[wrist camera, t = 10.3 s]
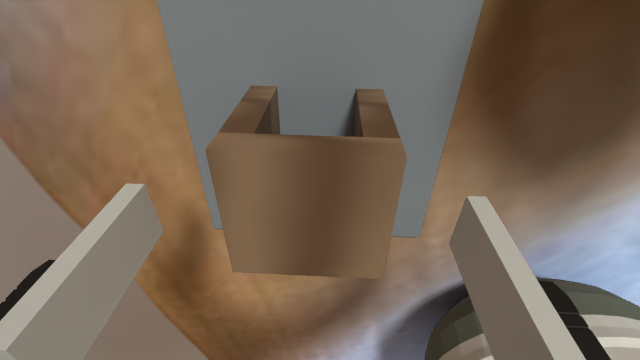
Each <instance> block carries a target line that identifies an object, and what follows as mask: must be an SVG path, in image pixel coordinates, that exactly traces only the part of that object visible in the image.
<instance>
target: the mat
mask: <svg viewBox="0 0 640 360" xmlns="http://www.w3.org/2000/svg"><path fill="white" fill-rule="evenodd" d="M157 2H158V6H159V11H160V15H161V19H162V23H163V27H164V31H165V35H166V39H167V43H168V47H169V51H170V55H171V59H172V63H173V67H174V71H175V75H176V79H177V83H178V87H179V91H180V95H181V99H182V103H183V107H184V111H185V115H186V119H187V123H188V127H189V131H190V135H191V139H192V143H193V147H194V151H195V155H196V159H197V163H198V167H199V171H200V175H201V179H202V183H203V187H204V191H205V195H206V199H207V203H208V207H209V211H210V215H211V219H212V223H213V227H214V229H223V227H222V222H221V218H220V213H219V209H218V205H217V200H216V196H215V191H214V187H213V183H212V178H211V174H210V169H209V165H208V161H207V156H206V152H205V150H206V148H207V147H208V145H209V144H210V143H211V141H212V140H213V138H214V137H215V136H216V134H217V133H218V131H219V130H220V129H221V127H222V126H223V124H224V123H225V122H226V120H227V119H228V117H229V116H230V115H231V113H232V112H233V110H234V109H235V108H236V106H237V105H238V103H239V102H240V101H241V99H242V98H243V96H244V95H245V93H246V92H247V91H248V89H249V88H250V86H277V90H278V105H279V120H280V134H285V135H315V136H345V137H352V136H353V124H354V111H355V99H356V89H383V91H384V94H385V96H386V99H387V102H388V105H389V108H390V110H391V113H392V116H393V119H394V122H395V124H396V127H397V130H398V133H399V136H400V138H401V141H402V144H403V147H404V150H405V152H406V155H407V161H406V166H405V171H404V176H403V181H402V186H401V191H400V196H399V201H398V206H397V211H396V216H395V220H394V225H393V230H392V235H391V236H399V237H419V236H420V232H421V229H422V225H423V221H424V218H425V214H426V210H427V207H428V203H429V199H430V196H431V192H432V188H433V185H434V181H435V177H436V174H437V170H438V167H439V163H440V159H441V156H442V152H443V148H444V145H445V141H446V137H447V134H448V130H449V126H450V123H451V119H452V115H453V112H454V108H455V104H456V101H457V97H458V93H459V90H460V86H461V82H462V79H463V75H464V71H465V68H466V64H467V60H468V57H469V53H470V49H471V46H472V42H473V39H474V35H475V31H476V28H477V24H478V20H479V17H480V13H481V9H482V6H483V2H484V0H157Z"/></svg>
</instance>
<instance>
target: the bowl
mask: <svg viewBox="0 0 640 360" xmlns="http://www.w3.org/2000/svg"><path fill="white" fill-rule="evenodd" d="M537 280H538V281H552V282H553V283H555V284H556V285H557V286H558V287H559V288H560V289H561V290H562V291H563V292H565V293H566V294H567V295H568V296H569V298H570V299H571V301H572V302H573V304H574V305H575V307H576V308H577V310H578V311H579V315H580V316H582V317H583V318H584V320H585V321H586V323H587V324H588V328H589V329H590V330H592V332H593V333H594V335H595V336H596V338H597V339H598V341H599V342H600V344H601V345H602V347H603V348H604V350H605V351H606V353H607V354H608V356H609V357H610V358H611V360H640V307H639V306H637V305H635V304H633V303H631V302H629V301H627V300H625V299H623V298H621V297H619V296H617V295H615V294H612V293H610V292H608V291H606V290H603V289H601V288H599V287H596V286H591V285H587V284H582V283H577V282H571V281H565V280H558V279H545V278H539V279H537ZM425 360H494V358H493V356H492V353H491V351H490V348H489V345H488V343H487V340H486V338H485V335H484V332H483V330H482V327H481V325H480V322H479V319H478V317H477V314H476V312H475V309H474V307H473V304H472V301H471V299H470V296H467V297H466V298H464V299H463V300H461V301H460V302H459V303H457V304H456V305H455V306H453V307H452V308H451V309H450V310H449V311H448V313H447V314H446V315H445V316H444V317H443V318H442V319H441V320H440V322H439V323H438V324H437V325H436V326H435V328H434V330H433V332H432V334H431V336H430V339H429V343H428V346H427V349H426V353H425Z"/></svg>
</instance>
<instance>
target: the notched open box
mask: <svg viewBox="0 0 640 360" xmlns="http://www.w3.org/2000/svg"><path fill="white" fill-rule="evenodd" d="M205 152H206V156H207V161H208V165H209V169H210V174H211V178H212V183H213V187H214V191H215V196H216V200H217V205H218V209H219V213H220V218H221V222H222V227H223V231H224V235H225V240H226V244H227V249H228V253H229V257H230V262H231V266H232V271H233V272H245V273H266V274H287V275H307V276H328V277H349V278H370V279H383V275H384V270H385V265H386V260H387V255H388V250H389V245H390V240H391V235H392V230H393V225H394V220H395V216H396V211H397V206H398V201H399V196H400V191H401V186H402V181H403V176H404V171H405V166H406V161H407V155H406V152H405V150H404V147H403V144H402V141H401V138H400V136H399V133H398V130H397V127H396V124H395V122H394V119H393V116H392V113H391V110H390V108H389V105H388V102H387V99H386V96H385V94H384V91H383V89H356V99H355V111H354V124H353V136H352V137H345V136H315V135H285V134H280V120H279V105H278V90H277V86H250V88H249V89H248V91H247V92H246V93H245V95H244V96H243V98H242V99H241V101H240V102H239V103H238V105H237V106H236V108H235V109H234V110H233V112H232V113H231V115H230V116H229V117H228V119H227V120H226V122H225V123H224V124H223V126H222V127H221V129H220V130H219V131H218V133H217V134H216V136H215V137H214V138H213V140H212V141H211V143H210V144H209V145H208V147H207V148H206V150H205Z"/></svg>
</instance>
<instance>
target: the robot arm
mask: <svg viewBox="0 0 640 360" xmlns="http://www.w3.org/2000/svg"><path fill="white" fill-rule="evenodd" d="M162 233H163V229H162V227H161V224H160V222H159V219H158V217H157V214H156V212H155V209H154V207H153V204H152V202H151V199H150V197H149V194H148V192H147V190H146V187H145V185H144V184H125V185H124V186H123V188H122V189H121V190H120V191H119V192H118V193H117V194H116V195H115V196H114V197H113V198H112V200H111V201H110V202H109V203H108V204H107V205H106V206H105V207H104V208H103V209H102V210H101V212H100V213H99V214H98V215H97V216H96V217H95V218H94V219H93V220H92V221H91V222H90V224H89V225H88V226H87V227H86V228H85V229H84V230H83V231H82V232H81V233H80V234H79V236H78V237H77V238H76V239H75V240H74V241H73V242H72V243H71V244H70V246H69V247H68V248H67V249H66V250H65V251H64V252H63V253H62V254H61V255H60V256H59V257H58V259H57V260H48V261H47V262H45V263H44V264H42V265H41V266H39V267H38V268H37V269H35V270H33V271H32V272H31V273H30V274H29V275H28V276H27V277H26V278H25V279H24V280H23V281H22V282H21V283H20V284H19V285H18V286H17V289H16V290H13V292H12V293H11V294H10V295H9V296H8V297H7V298H6V301H5V302H2V303H1V304H0V360H84V358H85V357H86V355H87V354H88V352H89V350H90V349H91V347H92V345H93V344H94V342H95V341H96V339H97V337H98V336H99V334H100V333H101V331H102V329H103V328H104V326H105V325H106V323H107V321H108V320H109V318H110V317H111V315H112V313H113V312H114V310H115V308H116V307H117V305H118V304H119V302H120V301H121V299H122V297H123V296H124V294H125V293H126V291H127V289H128V288H129V286H130V285H131V283H132V281H133V280H134V278H135V277H136V275H137V273H138V272H139V270H140V269H141V267H142V265H143V264H144V262H145V260H146V259H147V257H148V256H149V254H150V252H151V251H152V249H153V248H154V246H155V244H156V243H157V241H158V240H159V238H160V236H161V235H162ZM449 244H450V247H451V250H452V252H453V255H454V257H455V260H456V262H457V265H458V268H459V270H460V273H461V275H462V278H463V281H464V283H465V286H466V288H467V291H468V294H469V296H470V299H471V301H472V304H473V307H474V309H475V312H476V314H477V317H478V319H479V322H480V325H481V327H482V330H483V332H484V335H485V338H486V340H487V343H488V345H489V348H490V351H491V353H492V356H493V358H494V360H611V358H610V357H609V356H608V354H607V353H606V351H605V350H604V348H603V347H602V345H601V344H600V342H599V341H598V339H597V338H596V336H595V335H594V333H593V332H592V330H590V329H589V328H588V324H587V323H586V321H585V320H584V318H583V317H582V316H580V315H579V311H578V310H577V308H576V307H575V305H574V304H573V302H572V301H571V299H570V298H569V296H568V295H567V294H566V293H565V292H563V291H562V290H561V289H560V288H559V287H558V286H557V285H556V284H555V283H553V282H552V281H538V280H537V279H536V277H535V276H534V274H533V272H532V271H531V269H530V267H529V266H528V264H527V262H526V261H525V259H524V258H523V256H522V254H521V253H520V251H519V249H518V248H517V246H516V244H515V243H514V241H513V240H512V238H511V236H510V235H509V233H508V231H507V230H506V228H505V226H504V225H503V223H502V222H501V220H500V218H499V217H498V215H497V213H496V212H495V210H494V209H493V207H492V205H491V204H490V202H489V200H488V199H487V197H478V196H467V197H466V200H465V203H464V205H463V208H462V211H461V213H460V216H459V219H458V221H457V224H456V227H455V229H454V232H453V235H452V237H451V240H450V243H449Z"/></svg>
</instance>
